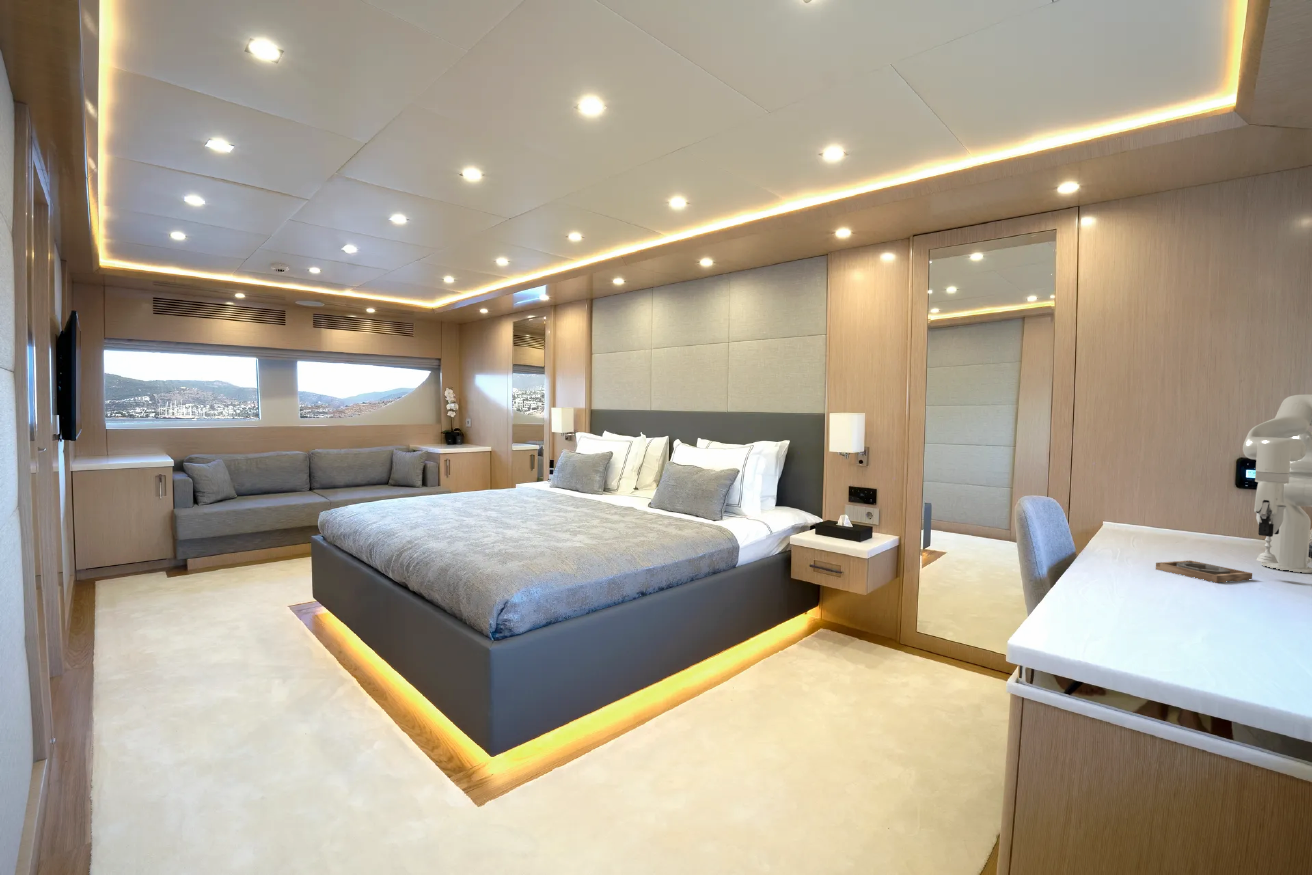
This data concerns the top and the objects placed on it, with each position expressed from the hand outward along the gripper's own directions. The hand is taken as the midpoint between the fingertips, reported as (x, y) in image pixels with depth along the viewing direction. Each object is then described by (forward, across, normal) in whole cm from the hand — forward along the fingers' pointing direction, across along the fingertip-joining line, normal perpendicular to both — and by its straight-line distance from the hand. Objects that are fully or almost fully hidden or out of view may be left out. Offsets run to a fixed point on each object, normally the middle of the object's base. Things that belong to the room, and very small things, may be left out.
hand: (1268, 534), depth 193 cm
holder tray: (+14, +12, -12) cm, 22 cm away
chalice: (+9, 0, 0) cm, 9 cm away
